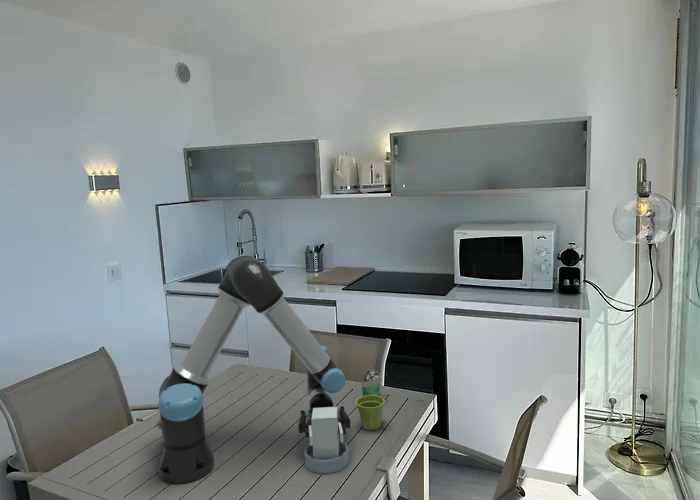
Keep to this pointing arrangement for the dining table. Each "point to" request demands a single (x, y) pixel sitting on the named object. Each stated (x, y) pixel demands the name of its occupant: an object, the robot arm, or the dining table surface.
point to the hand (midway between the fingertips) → (326, 439)
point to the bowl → (330, 464)
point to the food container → (371, 383)
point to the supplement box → (325, 433)
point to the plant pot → (370, 411)
